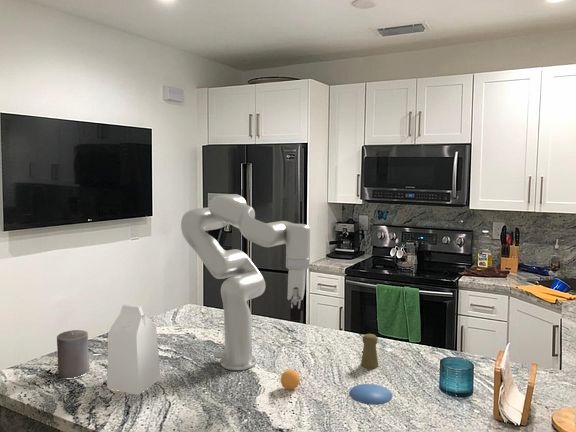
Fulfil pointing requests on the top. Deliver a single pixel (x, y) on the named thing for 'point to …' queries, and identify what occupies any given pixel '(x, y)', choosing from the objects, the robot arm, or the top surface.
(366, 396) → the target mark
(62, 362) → the pillar candle
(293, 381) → the ball
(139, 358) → the milk
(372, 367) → the olive chess pawn
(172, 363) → the top surface
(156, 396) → the top surface
